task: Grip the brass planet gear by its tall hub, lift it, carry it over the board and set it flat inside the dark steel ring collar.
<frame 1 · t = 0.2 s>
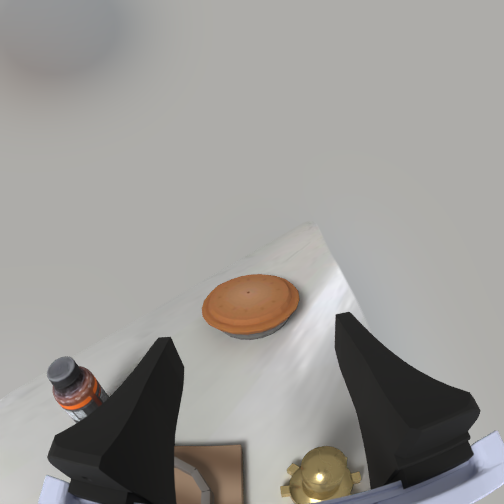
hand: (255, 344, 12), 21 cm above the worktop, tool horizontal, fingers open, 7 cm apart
planet gear: (320, 487, 21), on the worktop
pie: (253, 318, 49), on the worktop
supplement bottle: (106, 426, 30), on the worktop
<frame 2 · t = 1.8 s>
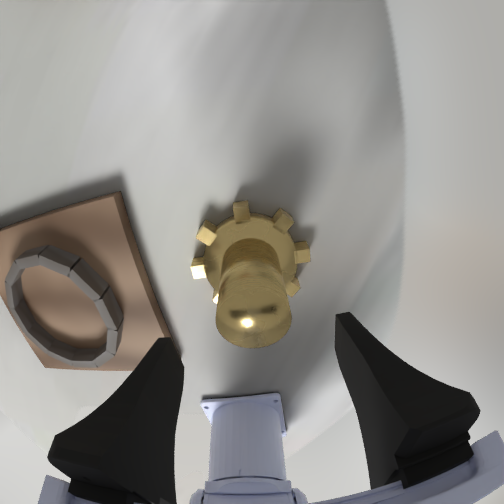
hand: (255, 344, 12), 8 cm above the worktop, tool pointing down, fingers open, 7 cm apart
planet gear: (250, 255, 20), on the worktop
collar board: (70, 298, 21), on the worktop
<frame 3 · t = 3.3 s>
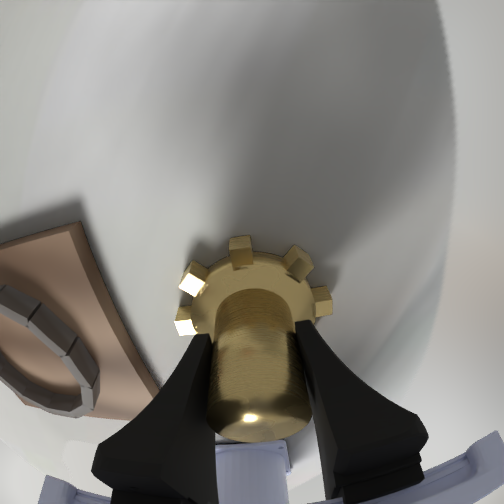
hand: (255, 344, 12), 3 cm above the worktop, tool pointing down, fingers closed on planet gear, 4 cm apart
planet gear: (252, 304, 15), on the worktop, touching gripper
collar board: (39, 340, 16), on the worktop
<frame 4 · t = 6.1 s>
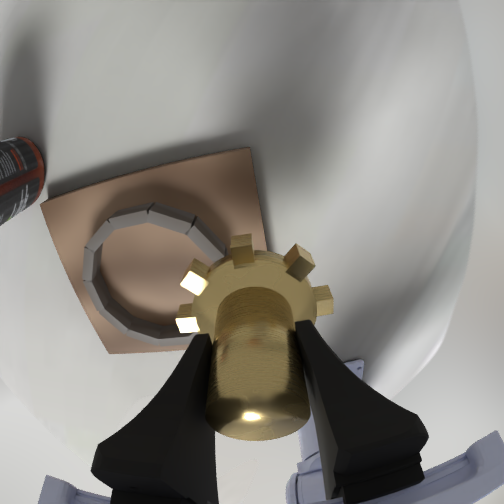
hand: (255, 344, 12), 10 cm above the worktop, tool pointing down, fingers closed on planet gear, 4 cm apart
planet gear: (254, 303, 15), point 7 cm above the worktop, touching gripper
supplement bottle: (23, 170, 18), on the worktop
collar board: (161, 267, 22), on the worktop
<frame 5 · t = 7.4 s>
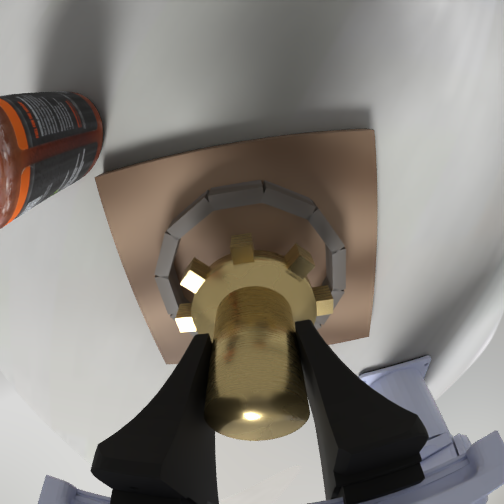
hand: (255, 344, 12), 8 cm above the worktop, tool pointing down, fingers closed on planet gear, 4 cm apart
planet gear: (253, 302, 15), point 5 cm above the worktop, touching gripper
supplement bottle: (69, 136, 15), on the worktop
collar board: (250, 260, 19), on the worktop
when the fingers open (5 cm above the worktop, at t = 8.7 s): planet gear stays where it is, resting on collar board.
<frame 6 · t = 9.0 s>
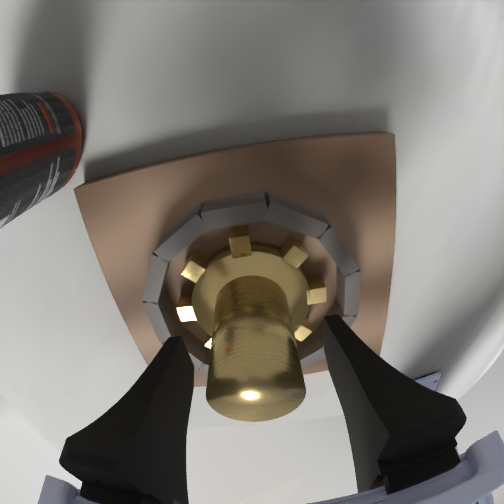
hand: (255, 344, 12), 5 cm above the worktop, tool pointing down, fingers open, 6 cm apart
planet gear: (250, 292, 16), point 1 cm above the worktop, touching collar board
supplement bottle: (47, 142, 13), on the worktop
collar board: (251, 281, 17), on the worktop
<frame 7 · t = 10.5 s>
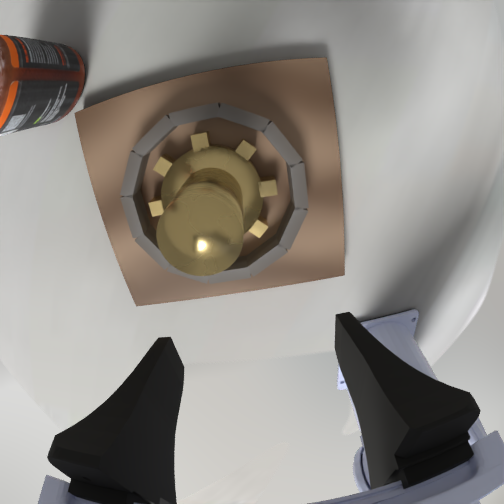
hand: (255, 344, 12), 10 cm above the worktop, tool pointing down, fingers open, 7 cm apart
planet gear: (213, 192, 18), point 1 cm above the worktop, touching collar board
supplement bottle: (56, 84, 15), on the worktop
collar board: (215, 188, 19), on the worktop
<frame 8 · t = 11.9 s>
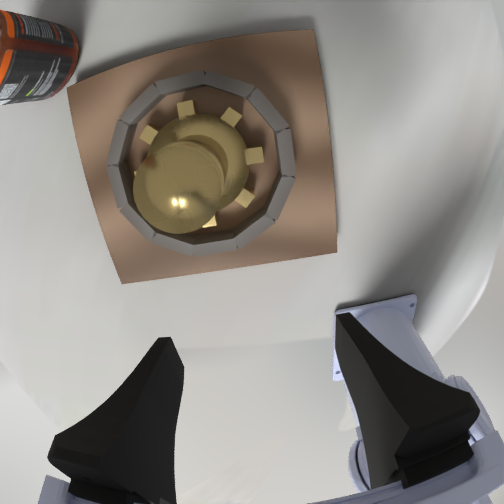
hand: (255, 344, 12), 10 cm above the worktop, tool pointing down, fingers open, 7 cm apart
planet gear: (199, 162, 17), point 1 cm above the worktop, touching collar board
supplement bottle: (51, 63, 14), on the worktop
collar board: (203, 159, 18), on the worktop
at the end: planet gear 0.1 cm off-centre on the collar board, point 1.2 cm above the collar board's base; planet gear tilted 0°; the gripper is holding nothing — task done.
